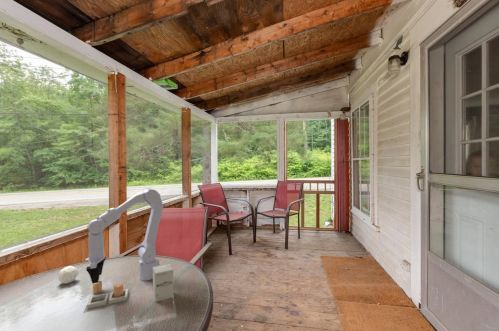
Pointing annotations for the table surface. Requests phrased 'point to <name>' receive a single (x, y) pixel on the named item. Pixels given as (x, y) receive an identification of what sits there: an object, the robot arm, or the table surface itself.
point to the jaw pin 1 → (97, 287)
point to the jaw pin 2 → (118, 290)
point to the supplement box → (163, 282)
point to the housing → (106, 301)
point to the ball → (68, 274)
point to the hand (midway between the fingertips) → (97, 278)
